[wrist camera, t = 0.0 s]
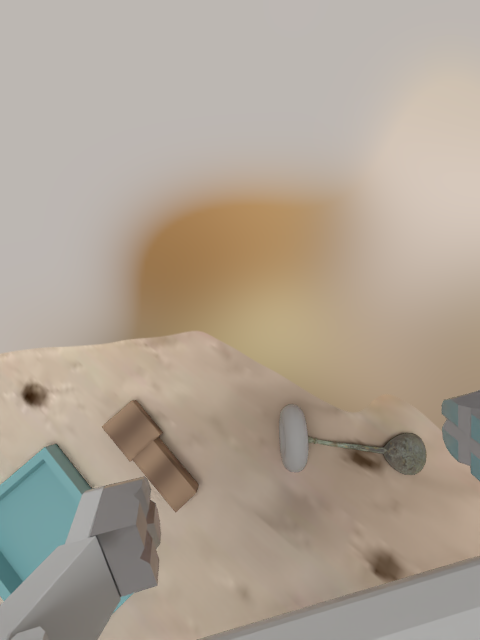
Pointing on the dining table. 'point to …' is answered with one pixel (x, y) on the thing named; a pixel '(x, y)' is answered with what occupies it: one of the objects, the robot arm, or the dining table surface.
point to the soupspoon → (393, 452)
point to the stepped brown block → (151, 454)
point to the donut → (293, 438)
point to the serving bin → (37, 515)
